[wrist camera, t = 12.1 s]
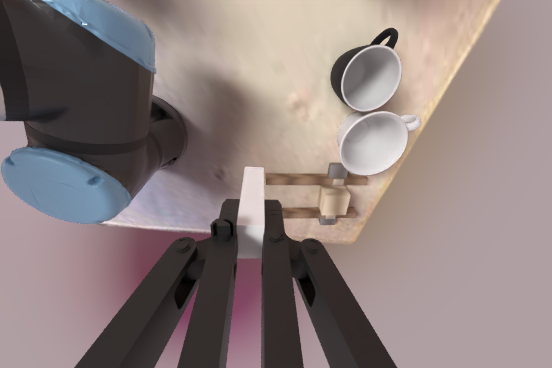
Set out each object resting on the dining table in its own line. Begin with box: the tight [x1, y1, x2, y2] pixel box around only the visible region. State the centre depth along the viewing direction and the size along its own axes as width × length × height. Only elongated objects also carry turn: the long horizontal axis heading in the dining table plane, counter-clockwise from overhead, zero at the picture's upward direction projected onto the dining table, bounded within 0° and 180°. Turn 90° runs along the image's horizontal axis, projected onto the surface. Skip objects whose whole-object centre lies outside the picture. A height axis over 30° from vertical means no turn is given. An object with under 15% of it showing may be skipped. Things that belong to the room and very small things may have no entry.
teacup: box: [337, 111, 421, 176], centre depth 41 cm, size 12×15×10 cm
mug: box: [331, 28, 402, 112], centre depth 35 cm, size 12×9×10 cm
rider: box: [318, 185, 351, 215], centre depth 53 cm, size 6×6×5 cm
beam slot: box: [266, 163, 368, 225], centre depth 53 cm, size 24×18×3 cm
